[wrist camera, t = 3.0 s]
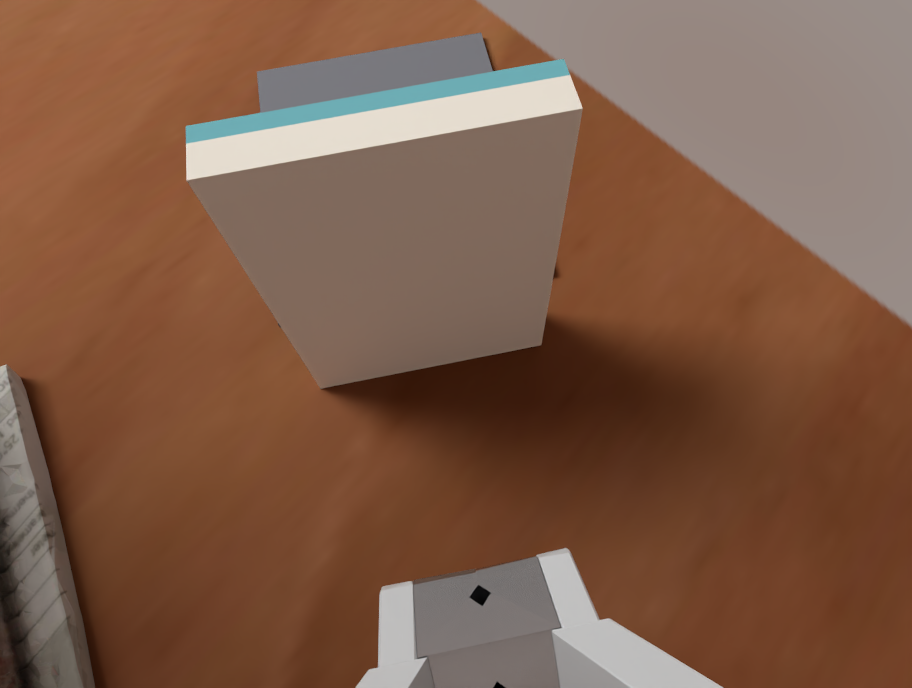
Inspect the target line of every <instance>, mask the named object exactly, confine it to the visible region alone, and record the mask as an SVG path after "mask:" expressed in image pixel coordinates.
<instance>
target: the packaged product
mask: <svg viewBox="0 0 912 688" xmlns="http://www.w3.org/2000/svg"><path fill="white" fill-rule="evenodd" d="M0 688H95V683H94V678H93V672H92V667H91V662H90V656H89V651H88V645H87V640H86V635H85V629H84V624H83V619H82V614H81V611H80V608H79V603H78V599H77V594H76V590H75V585H74V581H73V576H72V571H71V567H70V562H69V558H68V553H67V548H66V543H65V538H64V534H63V530H62V525H61V521H60V517H59V513H58V509H57V504H56V500H55V497H54V493H53V489H52V485H51V480H50V476H49V472H48V468H47V465H46V461H45V457H44V454H43V450H42V447H41V443H40V440H39V436H38V432H37V429H36V425H35V422H34V418H33V415H32V411H31V407H30V404H29V400H28V397H27V393H26V390H25V387H24V385H23V383H22V380H21V378H20V377H19V376H18V375H17V374H16V373H15V372H14V371H13V370H12V369H11V368H10V367H9V366H8V365H7V364H6V365H4V366H1V367H0Z"/></svg>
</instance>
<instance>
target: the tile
mask: <svg viewBox="0 0 912 688" xmlns="http://www.w3.org/2000/svg"><path fill="white" fill-rule="evenodd" d="M582 109H583V108H582V105H581V103H580V100H579V98H578V95H577V92H576V90H575V87H574V84H573V82H572V79H571V76H570V74H569V71H568V69H567V66H566V63H565V61H564V59H561V60H555V61H549V62H544V63H538V64H533V65H527V66H521V67H516V68H510V69H504V70H499V71H493V72H488V73H482V74H476V75H471V76H465V77H460V78H454V79H448V80H443V81H437V82H431V83H426V84H420V85H415V86H409V87H403V88H398V89H392V90H386V91H381V92H375V93H370V94H364V95H358V96H353V97H347V98H342V99H336V100H330V101H325V102H319V103H313V104H308V105H302V106H297V107H291V108H285V109H280V110H274V111H268V112H263V113H257V114H252V115H246V116H240V117H235V118H229V119H223V120H218V121H212V122H207V123H201V124H195V125H190V126H186V169H187V182H188V183H189V185H190V186H191V188H192V189H193V191H194V193H195V194H196V196H197V197H198V199H199V200H200V202H201V203H202V205H203V207H204V208H205V210H206V211H207V213H208V214H209V216H210V217H211V219H212V221H213V222H214V224H215V225H216V227H217V228H218V230H219V231H220V233H221V235H222V236H223V238H224V239H225V241H226V242H227V244H228V245H229V247H230V249H231V250H232V252H233V253H234V255H235V256H236V258H237V259H238V261H239V263H240V264H241V266H242V267H243V269H244V270H245V272H246V273H247V275H248V277H249V278H250V280H251V281H252V283H253V284H254V286H255V287H256V289H257V291H258V292H259V294H260V295H261V297H262V298H263V300H264V301H265V303H266V305H267V306H268V308H269V309H270V311H271V312H272V314H273V315H274V317H275V319H276V320H277V322H278V323H279V325H280V326H281V328H282V329H283V331H284V333H285V334H286V336H287V337H288V339H289V340H290V342H291V344H292V345H293V347H294V348H295V350H296V351H297V353H298V354H299V356H300V358H301V359H302V361H303V362H304V364H305V365H306V367H307V368H308V370H309V372H310V373H311V375H312V376H313V378H314V379H315V381H316V382H317V384H318V386H319V387H320V389H322V388H327V387H332V386H337V385H342V384H347V383H352V382H357V381H362V380H367V379H372V378H378V377H383V376H388V375H393V374H398V373H403V372H408V371H413V370H418V369H423V368H428V367H433V366H438V365H444V364H449V363H454V362H459V361H464V360H469V359H474V358H479V357H484V356H489V355H494V354H499V353H505V352H510V351H515V350H520V349H525V348H530V347H535V346H540V345H541V344H542V338H543V333H544V327H545V321H546V316H547V310H548V304H549V298H550V293H551V287H552V281H553V275H554V270H555V264H556V258H557V253H558V247H559V241H560V235H561V230H562V224H563V218H564V212H565V207H566V201H567V195H568V190H569V184H570V178H571V172H572V167H573V161H574V155H575V149H576V144H577V138H578V132H579V126H580V121H581V115H582Z"/></svg>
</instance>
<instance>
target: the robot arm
mask: <svg viewBox="0 0 912 688" xmlns="http://www.w3.org/2000/svg"><path fill="white" fill-rule="evenodd" d="M356 688H723V687H721V686H720V685H718V684H717V683H715V682H713V681H712V680H710V679H708V678H707V677H705V676H703V675H702V674H700V673H698V672H697V671H695V670H694V669H692V668H690V667H689V666H687V665H685V664H684V663H682V662H680V661H679V660H677V659H675V658H674V657H672V656H671V655H669V654H667V653H666V652H664V651H662V650H661V649H659V648H657V647H656V646H654V645H652V644H651V643H649V642H648V641H646V640H644V639H643V638H641V637H639V636H638V635H636V634H634V633H633V632H631V631H629V630H628V629H626V628H625V627H623V626H621V625H620V624H618V623H616V622H615V621H613V620H611V619H610V618H608V619H603V620H600V619H599V617H598V614H597V612H596V610H595V608H594V605H593V603H592V601H591V598H590V596H589V594H588V591H587V589H586V587H585V584H584V582H583V580H582V577H581V575H580V573H579V571H578V568H577V566H576V564H575V561H574V559H573V557H572V554H571V552H570V551H569V550H568V549H567V548H564V549H559V550H555V551H551V552H547V553H542V554H538V555H536V556H534V557H529V558H525V559H520V560H515V561H511V562H506V563H501V564H497V565H492V566H487V567H483V568H478V569H471V570H466V571H460V572H455V573H449V574H444V575H439V576H433V577H428V578H422V579H417V580H414V582H413V581H408V582H403V583H398V584H393V585H388V586H383V587H382V588H381V591H380V596H379V643H378V668H374V669H370V670H368V671H367V672H366V674H365V675H364V677H363V678H362V679H361V681H360V682H359V683H358V685H357V686H356Z"/></svg>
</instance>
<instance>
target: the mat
mask: <svg viewBox="0 0 912 688" xmlns="http://www.w3.org/2000/svg"><path fill="white" fill-rule="evenodd" d="M488 72H493V70H492V67H491V64H490V60H489V57H488V54H487V50H486V47H485V44H484V41H483V37H482V34H481V33H476V34H470V35H465V36H459V37H453V38H448V39H442V40H436V41H430V42H425V43H419V44H413V45H408V46H402V47H396V48H390V49H385V50H379V51H373V52H367V53H362V54H356V55H350V56H345V57H339V58H333V59H327V60H322V61H316V62H310V63H305V64H299V65H293V66H287V67H282V68H276V69H270V70H264V71H259V72H257V77H258V89H259V101H260V113H263V112H268V111H274V110H280V109H285V108H291V107H297V106H302V105H308V104H313V103H319V102H325V101H330V100H336V99H342V98H347V97H353V96H358V95H364V94H370V93H375V92H381V91H386V90H392V89H398V88H403V87H409V86H415V85H420V84H426V83H431V82H437V81H443V80H448V79H454V78H460V77H465V76H471V75H476V74H482V73H488ZM278 325H279V323H278ZM279 326H280V325H279ZM280 327H281V326H280Z"/></svg>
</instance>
